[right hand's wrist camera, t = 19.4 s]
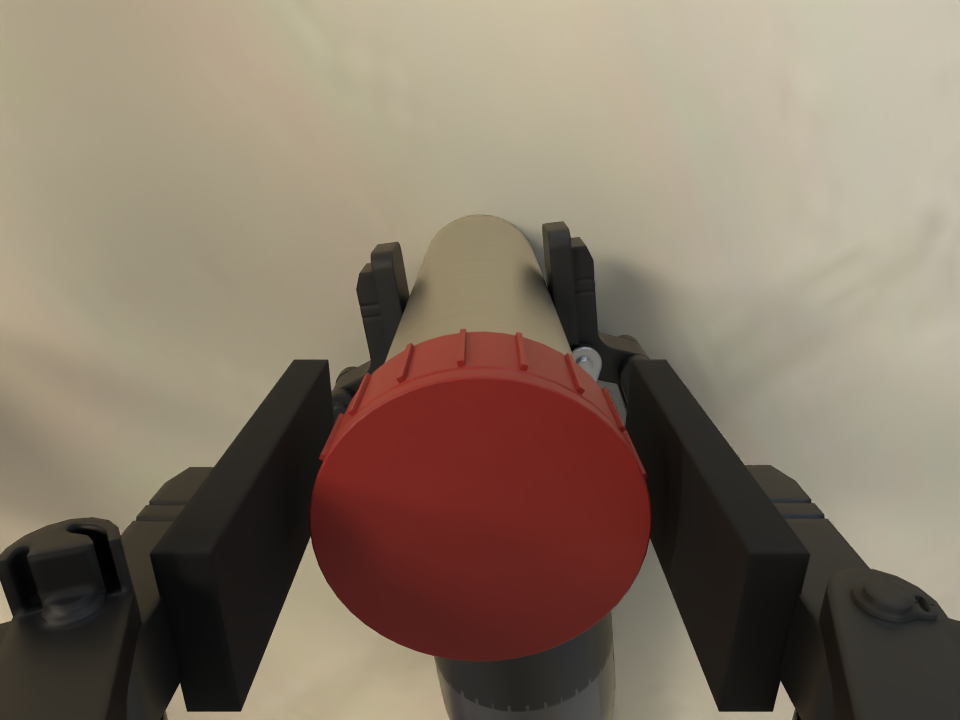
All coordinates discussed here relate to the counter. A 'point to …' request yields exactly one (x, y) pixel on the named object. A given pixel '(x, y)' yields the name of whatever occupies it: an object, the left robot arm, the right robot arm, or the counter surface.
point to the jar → (480, 287)
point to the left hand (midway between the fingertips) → (469, 239)
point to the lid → (480, 499)
